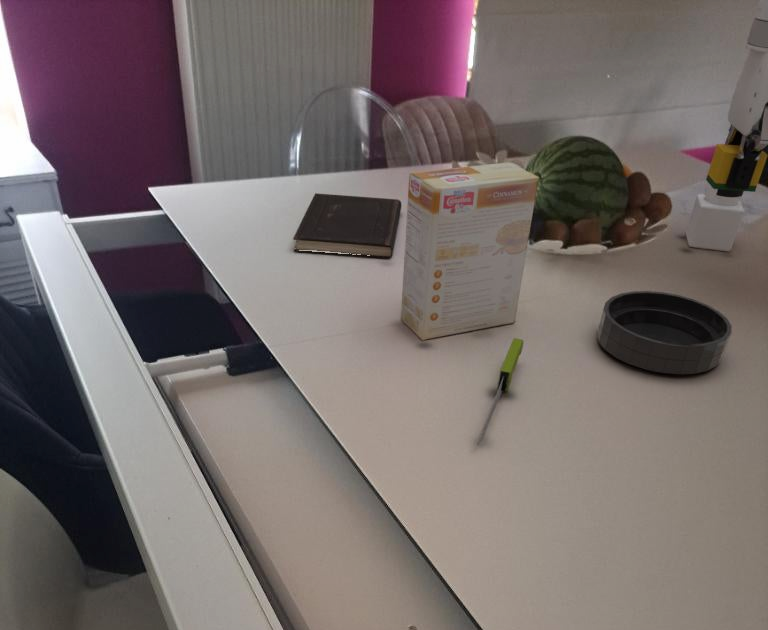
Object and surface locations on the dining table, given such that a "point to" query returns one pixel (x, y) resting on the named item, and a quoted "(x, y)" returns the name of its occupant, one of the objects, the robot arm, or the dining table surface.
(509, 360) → the kitchen knife
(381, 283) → the dining table surface
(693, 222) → the medicine bottle
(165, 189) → the dining table surface
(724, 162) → the sponge
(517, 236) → the coffeecake box
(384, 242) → the hardcover book
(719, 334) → the bowl
